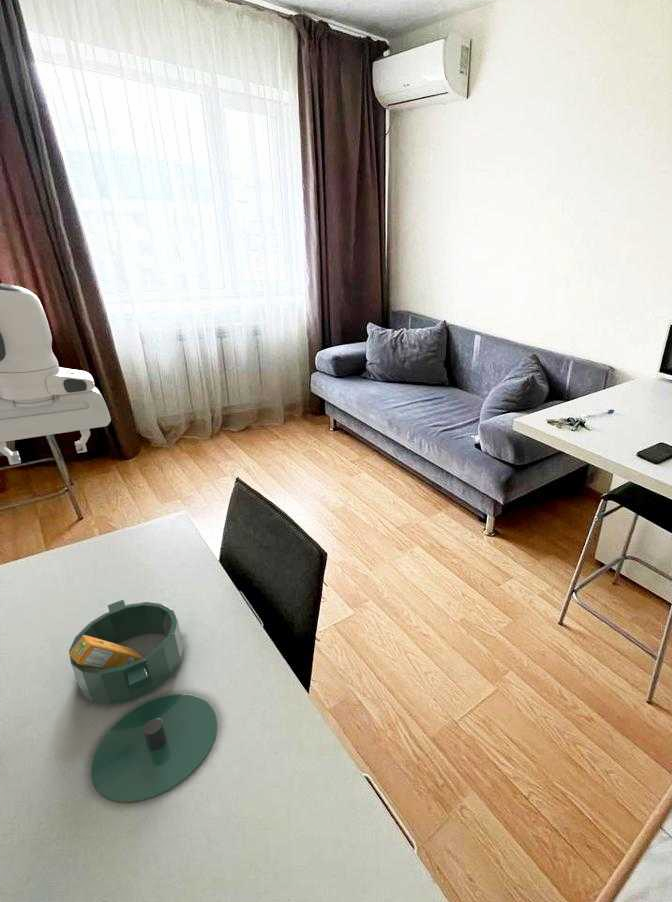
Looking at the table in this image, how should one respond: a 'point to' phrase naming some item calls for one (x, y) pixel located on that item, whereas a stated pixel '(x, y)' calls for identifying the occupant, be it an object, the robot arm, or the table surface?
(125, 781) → the pot lid
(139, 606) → the pot
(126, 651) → the supplement box
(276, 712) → the table surface
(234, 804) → the table surface
